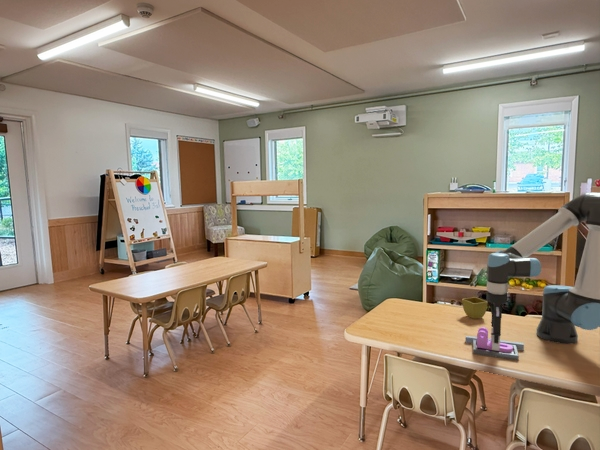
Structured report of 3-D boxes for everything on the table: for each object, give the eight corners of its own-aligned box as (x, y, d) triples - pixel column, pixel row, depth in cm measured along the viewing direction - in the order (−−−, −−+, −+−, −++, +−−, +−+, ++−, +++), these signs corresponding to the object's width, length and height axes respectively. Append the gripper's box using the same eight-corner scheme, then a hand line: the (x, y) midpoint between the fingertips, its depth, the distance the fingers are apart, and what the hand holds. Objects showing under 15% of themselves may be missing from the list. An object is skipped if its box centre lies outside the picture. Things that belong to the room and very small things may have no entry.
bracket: (476, 347, 157) (477, 330, 156) (478, 342, 162) (478, 326, 161) (512, 353, 150) (513, 336, 150) (513, 348, 155) (513, 331, 154)
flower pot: (461, 315, 198) (461, 298, 197) (474, 313, 200) (475, 296, 199) (473, 321, 190) (474, 303, 188) (487, 318, 192) (488, 301, 191)
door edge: (523, 348, 159) (523, 343, 158) (523, 350, 157) (523, 344, 157) (465, 340, 167) (465, 335, 167) (465, 342, 166) (465, 337, 165)
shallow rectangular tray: (515, 349, 158) (515, 345, 157) (518, 360, 149) (518, 355, 148) (473, 344, 164) (473, 339, 164) (473, 354, 155) (473, 349, 155)
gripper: (510, 299, 143) (507, 358, 146) (505, 286, 160) (503, 338, 163) (487, 297, 146) (485, 355, 149) (485, 284, 163) (483, 336, 166)
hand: (495, 346), depth 156 cm, fingers closed on bracket, 6 cm apart
